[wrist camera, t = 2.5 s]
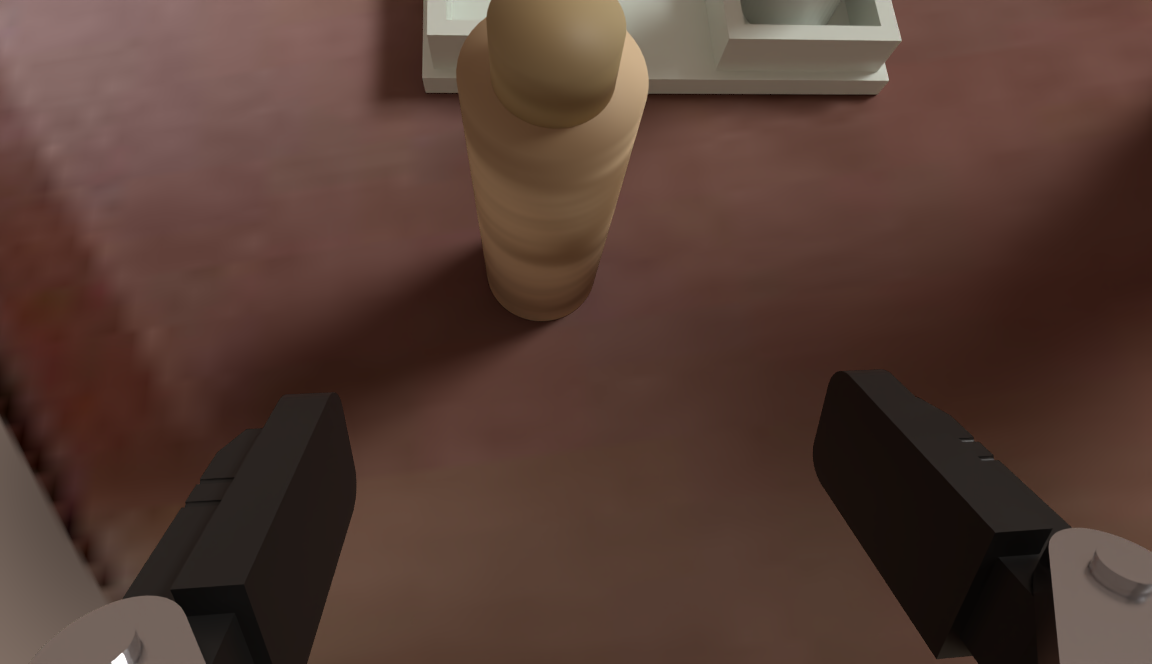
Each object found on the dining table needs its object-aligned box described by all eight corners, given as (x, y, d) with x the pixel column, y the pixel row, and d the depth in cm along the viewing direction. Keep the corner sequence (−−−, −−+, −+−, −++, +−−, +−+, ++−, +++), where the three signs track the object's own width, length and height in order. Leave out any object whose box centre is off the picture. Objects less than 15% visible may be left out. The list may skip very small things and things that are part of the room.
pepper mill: (531, 202, 27) (537, -93, 14) (615, 262, 26) (703, 14, 13) (464, 278, 26) (401, 31, 13) (551, 342, 25) (579, 154, 12)
